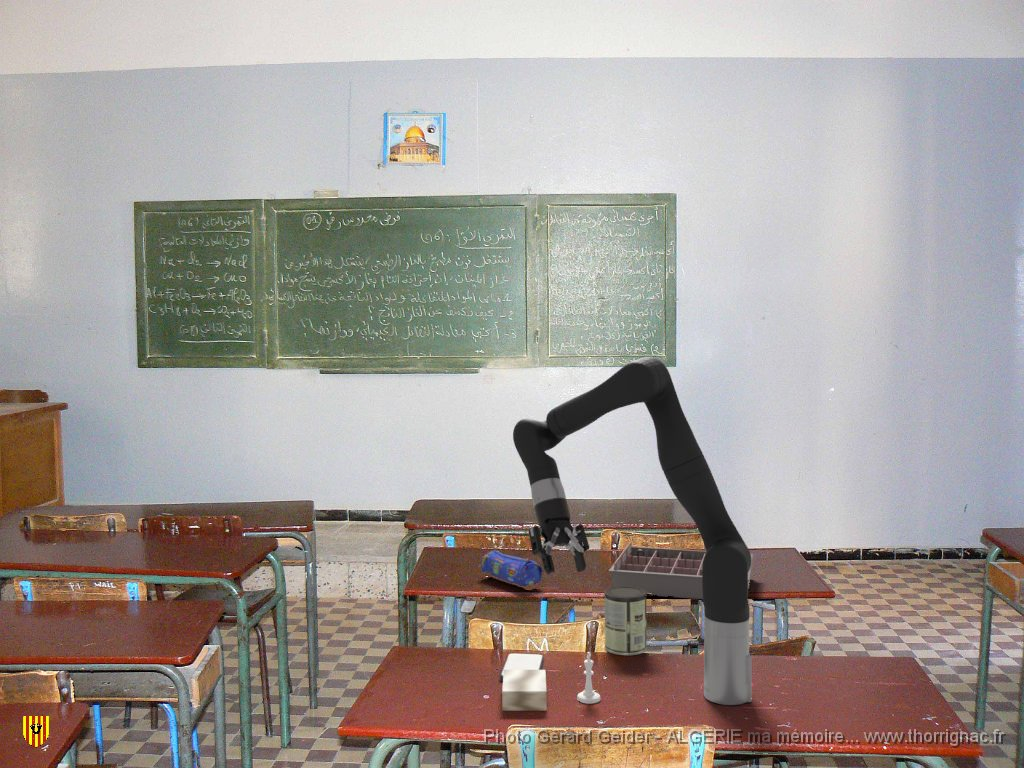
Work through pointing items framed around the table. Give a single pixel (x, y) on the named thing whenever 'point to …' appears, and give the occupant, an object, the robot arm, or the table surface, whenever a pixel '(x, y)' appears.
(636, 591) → the coffee can
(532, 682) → the birch stand
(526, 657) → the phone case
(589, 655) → the chess piece
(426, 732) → the table surface
